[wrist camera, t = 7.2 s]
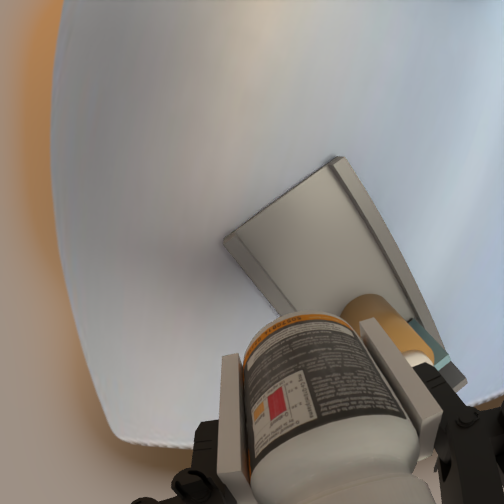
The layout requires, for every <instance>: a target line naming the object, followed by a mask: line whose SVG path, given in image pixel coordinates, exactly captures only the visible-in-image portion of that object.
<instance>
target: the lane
mask: <svg viewBox="0 0 504 504" xmlns="http://www.w3.org/2000/svg"><path fill="white" fill-rule="evenodd" d="M223 245H224V246H225V248H226V249H227V250H228V251H229V253H230V254H231V255H232V256H233V258H234V259H235V260H236V261H237V263H238V264H239V265H240V266H241V268H242V269H243V270H244V271H245V273H246V274H247V275H248V276H249V278H250V279H251V280H252V281H253V282H254V284H255V285H256V286H257V287H258V289H259V290H260V291H261V292H262V294H263V295H264V296H265V297H266V298H267V300H268V301H269V302H270V303H271V305H272V306H273V307H274V308H275V310H276V311H277V312H278V313H279V314H280V316H284V315H287V314H290V313H294V312H299V311H306V310H315V311H322V312H327V313H330V314H334V315H336V316H338V317H340V315H341V313H342V311H343V309H344V308H345V307H346V305H347V304H348V303H349V302H351V301H352V300H353V299H355V298H356V297H359V296H361V295H364V294H377V295H380V296H382V297H383V298H384V299H385V300H386V301H387V302H388V303H389V304H390V305H391V306H392V307H393V308H394V309H395V310H396V311H397V312H398V313H399V314H400V315H401V317H402V318H403V319H404V320H405V321H406V322H407V323H409V322H410V321H412V320H413V319H415V320H416V321H417V322H418V323H419V324H420V325H421V326H422V327H423V328H424V329H425V330H426V331H427V332H428V333H429V334H430V335H431V336H432V337H433V338H434V339H435V340H436V341H437V342H438V343H439V345H440V346H441V347H442V348H443V349H444V350H445V348H444V345H443V343H442V340H441V338H440V335H439V333H438V331H437V328H436V326H435V323H434V321H433V319H432V317H431V314H430V312H429V310H428V308H427V305H426V303H425V301H424V299H423V297H422V294H421V292H420V290H419V288H418V286H417V284H416V282H415V280H414V278H413V276H412V274H411V271H410V269H409V267H408V265H407V263H406V262H405V260H404V258H403V256H402V254H401V252H400V250H399V248H398V246H397V244H396V242H395V240H394V239H393V237H392V235H391V233H390V231H389V229H388V228H387V226H386V224H385V222H384V220H383V219H382V217H381V215H380V213H379V212H378V210H377V208H376V206H375V205H374V203H373V201H372V200H371V198H370V196H369V195H368V193H367V191H366V190H365V188H364V186H363V185H362V183H361V181H360V180H359V178H358V176H357V175H356V173H355V172H354V170H353V169H352V167H351V165H350V164H349V162H348V161H347V159H346V158H345V157H339V156H337V157H336V158H334V159H333V160H332V161H330V162H329V163H327V164H326V165H324V166H323V167H322V168H320V169H319V170H317V171H316V172H315V173H313V174H312V175H310V176H309V177H308V178H306V179H305V180H303V181H302V182H301V183H299V184H298V185H296V186H295V187H294V188H292V189H291V190H289V191H288V192H287V193H285V194H284V195H283V196H281V197H280V198H278V199H277V200H276V201H274V202H273V203H272V204H270V205H269V206H267V207H266V208H265V209H263V210H262V211H261V212H259V213H258V214H256V215H255V216H254V217H252V218H251V219H250V220H248V221H247V222H246V223H244V224H243V225H241V226H240V227H239V228H237V229H236V230H235V231H233V232H232V233H231V234H229V235H228V236H227V237H225V238H224V242H223ZM445 351H446V350H445ZM439 373H440V374H441V376H443V378H444V379H445V380H446V382H447V383H448V384H449V385H450V386H451V388H452V389H453V390H454V391H455V393H456V392H458V391H459V390H460V389H461V388H462V387H464V386H465V385H466V384H467V379H466V377H465V376H464V375H463V374H462V373H461V372H460V370H459V369H458V368H457V367H456V366H455V365H454V364H453V363H452V362H451V361H450V362H449V363H448V364H446V365H445V366H444V367H443V368H441V369H440V370H439Z"/></svg>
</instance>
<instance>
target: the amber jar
mask: <svg viewBox="0 0 504 504" xmlns="http://www.w3.org/2000/svg"><path fill="white" fill-rule="evenodd" d="M373 317H374V318H375V319H376V320H377V322H378V323H379V324H380V326H381V327H382V328H383V329H384V331H385V332H386V333H387V335H388V336H389V337H390V339H391V340H392V341H393V343H394V344H395V345H396V347H397V348H398V349H399V351H400V352H401V353H402V355H403V356H404V357H405V359H406V360H407V361H408V363H409V364H410V365H411V367H414V366H416V365H419V364H421V363H424V362H426V363H428V364H430V365H432V366H433V365H434V354H433V351H432V349H431V348H430V347H429V346H428V345H427V344H426V343H425V341H424V340H423V339H422V338H421V337H420V336H419V335H418V334H417V333H416V332H415V331H414V329H413V328H412V327H411V326H410V325H409V324H408V323H407V322H406V321H405V320H404V319H403V318H402V317H401V315H400V314H399V313H398V312H397V311H396V310H395V309H394V308H393V307H392V306H391V305H390V304H389V303H388V302H387V301H386V300H385V299H384V298H383V297H382V296H380V295H377V294H364V295H361V296H359V297H356V298H355V299H353V300H352V301H351V302H349V303H348V304H347V305H346V307H345V308H344V309H343V311H342V313H341V315H340V318H342V319H343V320H345V321H346V322H347V323H348V324H349V325H350V326H351V327H352V328H353V329H354V330H355V332H356V333H357V334H358V335H359V337H360V338H361V336H360V326H359V322H360V321H363V320H366V319H370V318H373Z"/></svg>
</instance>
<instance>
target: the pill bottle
mask: <svg viewBox="0 0 504 504" xmlns="http://www.w3.org/2000/svg"><path fill="white" fill-rule="evenodd" d="M243 384H244V405H245V418H246V430H247V444H248V458H249V476H250V484H251V490H252V493H253V496H254V498H255V500H256V501H257V503H258V504H436V503H435V501H434V498H433V496H432V494H431V492H430V489H429V487H428V484H427V483H426V482H425V481H423V480H421V479H419V478H418V477H416V476H414V475H412V472H413V471H414V468H415V466H416V464H417V461H418V458H419V453H420V443H419V438H418V434H417V431H416V429H415V427H414V426H413V424H412V422H411V419H410V418H409V416H408V414H407V413H406V411H405V410H404V408H403V407H402V405H401V403H400V401H399V399H398V398H397V396H396V395H395V393H394V391H393V390H392V388H391V386H390V385H389V383H388V382H387V380H386V378H385V377H384V375H383V374H382V372H381V371H380V369H379V368H378V366H377V364H376V363H375V361H374V360H373V358H372V356H371V355H370V353H369V351H368V349H367V348H366V346H365V344H364V343H363V341H362V340H361V338H360V337H359V335H358V334H357V333H356V332H355V330H354V329H353V328H352V327H351V326H350V325H349V324H348V323H347V322H346V321H345V320H343V319H342V318H340V317H338V316H336V315H334V314H330V313H327V312H322V311H315V310H306V311H299V312H294V313H290V314H287V315H284V316H281V317H279V318H277V319H276V320H274V321H273V322H271V323H269V324H268V325H266V326H265V327H263V328H262V329H261V330H260V331H259V332H258V333H257V334H256V335H255V337H254V338H253V339H252V341H251V342H250V344H249V346H248V348H247V350H246V352H245V355H244V361H243Z"/></svg>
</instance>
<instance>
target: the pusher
mask: <svg viewBox="0 0 504 504" xmlns="http://www.w3.org/2000/svg"><path fill="white" fill-rule="evenodd" d="M408 324H409V325H410V326H411V327H412V328H413V329H414V331H415V332H416V333H417V334H418V335H419V336H420V337H421V338H422V339H423V340H424V341H425V343H426V344H427V345H428V346H429V347H430V348H431V349H432V351H433V354H434V365H433V366H434V367H435V368H436V369H437V370H438V371H439V370H440V369H441V368H443V367H444V366H445V365H446V364H448V363H449V362H450V361H451V359H450V356H449V354H448V353H447V352H446V351H445V350H444V349H443V348H442V347H441V346H440V345H439V343H438V342H437V341H436V340H435V339H434V338H433V337H432V336H431V335H430V334H429V333H428V332H427V331H426V330H425V329H424V328H423V327H422V326H421V325H420V324H419V323H418V322H417V321H416V320H415V319H413V320H412V321H410V322H409V323H408Z"/></svg>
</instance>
